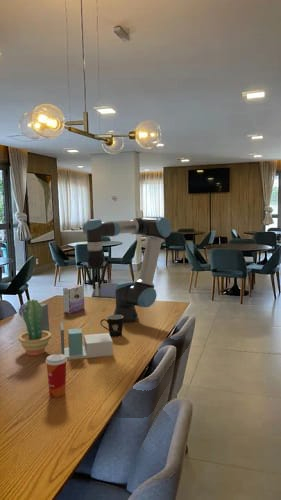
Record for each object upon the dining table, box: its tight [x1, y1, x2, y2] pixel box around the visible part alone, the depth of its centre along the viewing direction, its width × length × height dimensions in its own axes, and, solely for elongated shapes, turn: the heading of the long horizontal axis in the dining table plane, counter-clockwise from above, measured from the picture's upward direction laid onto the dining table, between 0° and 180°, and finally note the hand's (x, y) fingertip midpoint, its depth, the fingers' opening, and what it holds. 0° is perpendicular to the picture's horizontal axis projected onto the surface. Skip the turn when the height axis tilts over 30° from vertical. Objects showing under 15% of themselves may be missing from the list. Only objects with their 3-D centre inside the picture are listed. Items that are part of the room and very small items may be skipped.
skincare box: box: [40, 303, 50, 332], centre depth 207 cm, size 8×7×16 cm
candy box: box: [62, 284, 85, 315], centre depth 252 cm, size 14×6×16 cm, turn 144°
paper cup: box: [45, 353, 68, 398], centre depth 140 cm, size 8×8×14 cm
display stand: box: [59, 321, 114, 361], centre depth 179 cm, size 23×12×14 cm, turn 104°
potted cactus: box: [17, 299, 52, 356], centre depth 180 cm, size 15×15×25 cm
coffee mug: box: [100, 314, 124, 338], centre depth 204 cm, size 12×9×10 cm
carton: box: [67, 327, 83, 355], centre depth 177 cm, size 10×7×6 cm
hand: (96, 295), depth 196 cm, fingers closed
